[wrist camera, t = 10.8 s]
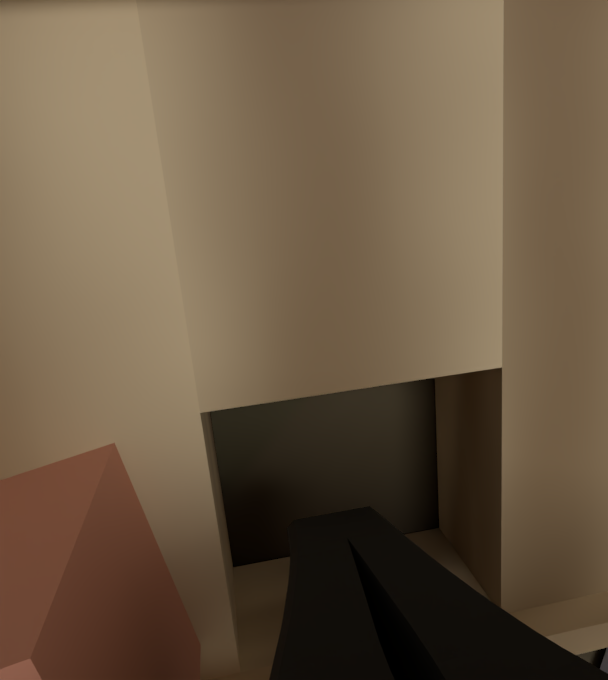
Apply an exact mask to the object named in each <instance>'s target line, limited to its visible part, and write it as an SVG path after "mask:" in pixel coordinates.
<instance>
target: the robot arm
mask: <svg viewBox="0 0 608 680" xmlns="http://www.w3.org/2000/svg"><path fill="white" fill-rule="evenodd" d="M287 531H288V540H289V549H290V568H289V580H288V587H287V594H286V600H285V607H284V614H283V620H282V625H281V630H280V635H279V639H278V643H277V648H276V652H275V656H274V661H273V665H272V669H271V674H270V678H269V680H608V647H607V649H606V652H605V655H604V658H603V660H602V663H601V666H600V669H599V668H597V667H595V666H594V665H592V664H590V663H588V662H587V661H585V660H583V659H581V658H580V657H578V656H576V655H574V654H573V653H571V652H569V651H568V650H566V649H564V648H562V647H561V646H559V645H557V644H556V643H554V642H553V641H551V640H549V639H548V638H546V637H544V636H543V635H541V634H540V633H538V632H536V631H535V630H533V629H532V628H530V627H529V626H527V625H526V624H524V623H523V622H521V621H520V620H518V619H517V618H515V617H514V616H512V615H511V614H509V613H508V612H506V611H505V610H503V609H502V608H500V607H499V606H497V605H496V604H494V603H493V602H491V601H490V600H488V599H487V598H486V597H484V596H483V595H481V594H480V593H479V592H477V591H476V590H474V589H473V588H472V587H470V586H469V585H468V584H466V583H465V582H464V581H462V580H461V579H460V578H458V577H457V576H456V575H454V574H453V573H452V572H450V571H449V570H448V569H446V568H445V567H444V566H442V565H441V564H440V563H439V562H437V561H436V560H435V559H434V558H432V557H431V556H430V555H428V554H427V553H426V552H425V551H423V550H422V549H421V548H420V547H419V546H417V545H416V544H415V543H414V542H412V541H411V540H410V539H409V538H408V537H406V536H405V535H404V534H403V533H401V532H400V531H399V530H398V529H397V528H395V527H394V526H393V525H392V524H391V523H389V522H388V521H387V520H386V519H385V518H383V517H382V516H381V515H380V514H379V513H377V512H376V511H375V510H373V509H372V508H371V507H370V506H369V507H364V508H358V509H353V510H347V511H342V512H336V513H331V514H325V515H320V516H314V517H309V518H303V519H298V520H294V521H293V522H292V523H291V524H290V525H289V527H288V528H287Z"/></svg>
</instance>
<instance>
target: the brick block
mask: <svg viewBox="0 0 608 680" xmlns="http://www.w3.org/2000/svg"><path fill="white" fill-rule="evenodd" d="M200 653H201V645H200V642H199V640H198V638H197V635H196V633H195V630H194V628H193V626H192V623H191V621H190V619H189V616H188V614H187V612H186V609H185V607H184V605H183V602H182V600H181V598H180V595H179V593H178V591H177V588H176V586H175V584H174V581H173V579H172V577H171V574H170V572H169V569H168V567H167V565H166V562H165V560H164V558H163V555H162V553H161V551H160V548H159V546H158V544H157V541H156V539H155V537H154V534H153V532H152V530H151V527H150V525H149V523H148V520H147V518H146V516H145V513H144V511H143V508H142V506H141V504H140V501H139V499H138V497H137V494H136V492H135V490H134V487H133V485H132V483H131V480H130V478H129V476H128V473H127V471H126V469H125V466H124V464H123V462H122V459H121V457H120V454H119V452H118V450H117V447H116V445H115V443H112V444H109V445H106V446H103V447H100V448H97V449H94V450H91V451H88V452H85V453H82V454H79V455H76V456H73V457H70V458H67V459H64V460H60V461H57V462H54V463H51V464H48V465H45V466H42V467H39V468H36V469H33V470H30V471H27V472H24V473H21V474H18V475H15V476H12V477H9V478H6V479H3V480H0V680H200Z"/></svg>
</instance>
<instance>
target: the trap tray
mask: <svg viewBox="0 0 608 680" xmlns="http://www.w3.org/2000/svg"><path fill="white" fill-rule="evenodd" d="M429 378H435V406H436V438H437V471H438V503H439V528H435V529H430V530H425V531H420V532H414V533H409V534H404V535H405V536H406V537H408V538H409V539H410V540H411V541H412V542H414V543H415V544H416V545H417V546H419V547H420V548H421V549H422V550H423V551H425V552H426V553H427V554H428V555H430V556H431V557H432V558H434V559H435V560H436V561H437V562H439V563H440V564H441V565H442V566H444V567H445V568H446V569H448V570H449V571H450V572H452V573H453V574H454V575H456V576H457V577H458V578H460V579H461V580H462V581H464V582H465V583H466V584H468V585H469V586H470V587H472V588H473V589H474V590H476V591H477V592H479V593H480V594H481V595H483V596H484V597H486V598H487V599H488V600H490V601H491V602H493V603H494V604H496V605H497V606H499V607H500V608H502V609H503V610H505V611H506V612H508V613H509V614H511V615H512V616H514V617H515V618H517V619H518V620H520V621H521V622H523V623H524V624H526V625H527V626H529V627H530V628H532V629H533V630H535V631H536V632H538V633H540V634H541V635H543V636H544V637H546V638H548V639H549V640H551V641H553V642H554V643H556V644H557V645H559V646H561V647H562V648H564V649H566V650H568V651H569V652H571V653H573V654H574V655H578V654H582V653H586V652H590V651H595V650H599V649H603V648H607V647H608V0H0V480H3V479H6V478H9V477H12V476H15V475H18V474H21V473H24V472H27V471H30V470H33V469H36V468H39V467H42V466H45V465H48V464H51V463H54V462H57V461H60V460H64V459H67V458H70V457H73V456H76V455H79V454H82V453H85V452H88V451H91V450H94V449H97V448H100V447H103V446H106V445H109V444H112V443H115V445H116V447H117V450H118V452H119V454H120V457H121V459H122V462H123V464H124V466H125V469H126V471H127V473H128V476H129V478H130V480H131V483H132V485H133V487H134V490H135V492H136V494H137V497H138V499H139V501H140V504H141V506H142V508H143V511H144V513H145V516H146V518H147V520H148V523H149V525H150V527H151V530H152V532H153V534H154V537H155V539H156V541H157V544H158V546H159V548H160V551H161V553H162V555H163V558H164V560H165V562H166V565H167V567H168V569H169V572H170V574H171V577H172V579H173V581H174V584H175V586H176V588H177V591H178V593H179V595H180V598H181V600H182V602H183V605H184V607H185V609H186V612H187V614H188V616H189V619H190V621H191V623H192V626H193V628H194V630H195V633H196V635H197V638H198V640H199V642H200V645H201V653H200V680H269V678H270V674H271V669H272V665H273V661H274V656H275V652H276V648H277V643H278V639H279V635H280V630H281V625H282V620H283V614H284V607H285V600H286V594H287V587H288V580H289V568H290V557H285V558H280V559H274V560H269V561H264V562H259V563H254V564H248V565H243V566H238V567H233V563H232V556H231V549H230V542H229V536H228V529H227V522H226V516H225V509H224V502H223V496H222V489H221V482H220V476H219V469H218V462H217V456H216V449H215V442H214V436H213V429H212V422H211V416H210V411H217V410H223V409H230V408H236V407H243V406H250V405H256V404H263V403H270V402H276V401H283V400H289V399H296V398H303V397H309V396H316V395H323V394H329V393H336V392H342V391H349V390H356V389H362V388H369V387H376V386H382V385H389V384H395V383H402V382H409V381H415V380H422V379H429Z"/></svg>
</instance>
